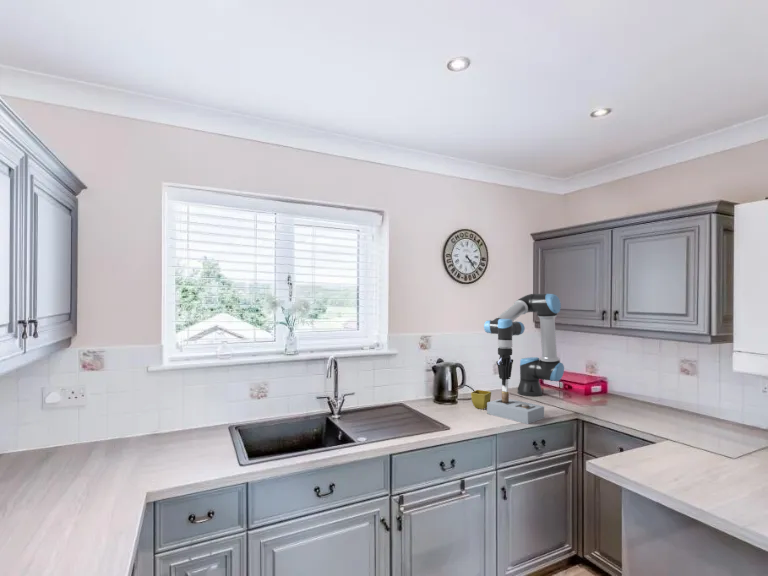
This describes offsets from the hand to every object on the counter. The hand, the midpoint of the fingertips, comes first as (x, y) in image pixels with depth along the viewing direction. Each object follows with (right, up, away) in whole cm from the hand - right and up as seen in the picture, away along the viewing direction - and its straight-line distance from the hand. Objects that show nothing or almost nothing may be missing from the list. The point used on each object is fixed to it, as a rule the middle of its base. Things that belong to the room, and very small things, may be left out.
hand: (505, 391), depth 228 cm
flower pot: (-10, -12, +11) cm, 19 cm away
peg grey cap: (+8, -11, -9) cm, 17 cm away
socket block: (+4, -12, -5) cm, 13 cm away
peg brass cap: (0, -7, 0) cm, 7 cm away
